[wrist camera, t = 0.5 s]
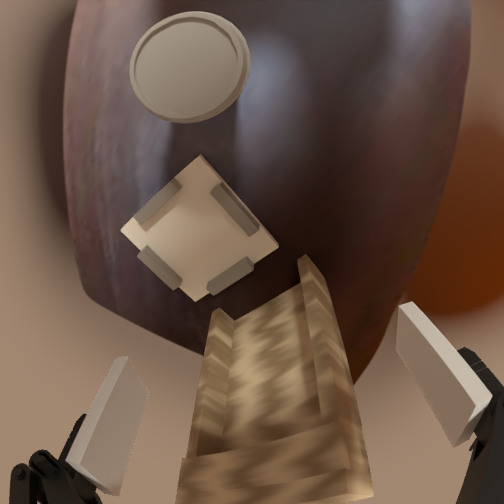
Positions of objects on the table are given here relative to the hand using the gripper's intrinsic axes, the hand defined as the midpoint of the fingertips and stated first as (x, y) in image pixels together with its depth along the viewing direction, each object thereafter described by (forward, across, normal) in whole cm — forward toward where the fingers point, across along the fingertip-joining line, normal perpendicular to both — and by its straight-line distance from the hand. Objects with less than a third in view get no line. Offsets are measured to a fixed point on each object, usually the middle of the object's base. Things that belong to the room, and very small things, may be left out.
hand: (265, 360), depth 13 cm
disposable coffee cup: (+22, -1, +19) cm, 29 cm away
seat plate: (+26, -8, 0) cm, 27 cm away
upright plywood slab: (+28, -1, -12) cm, 30 cm away
